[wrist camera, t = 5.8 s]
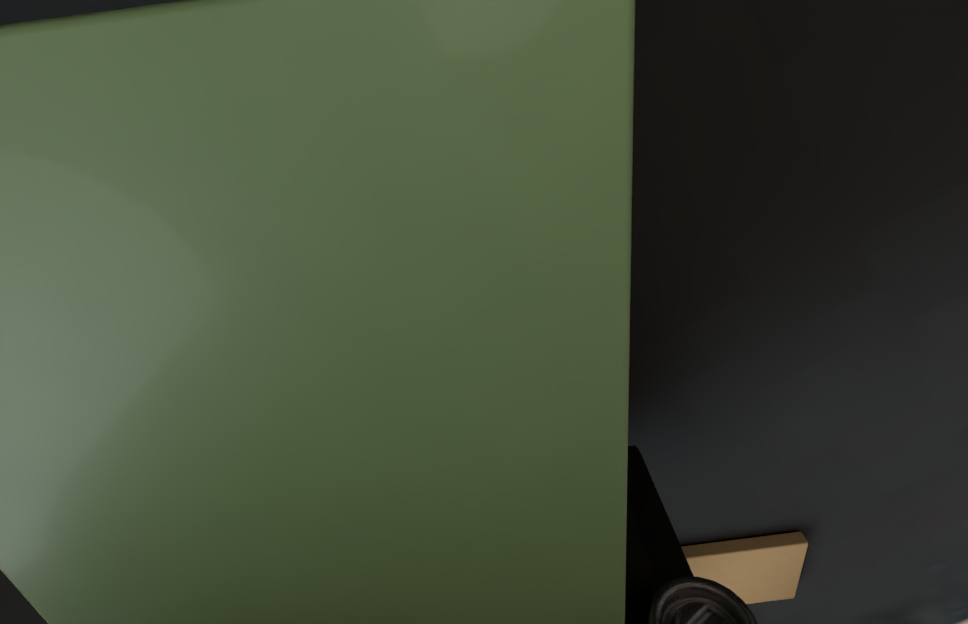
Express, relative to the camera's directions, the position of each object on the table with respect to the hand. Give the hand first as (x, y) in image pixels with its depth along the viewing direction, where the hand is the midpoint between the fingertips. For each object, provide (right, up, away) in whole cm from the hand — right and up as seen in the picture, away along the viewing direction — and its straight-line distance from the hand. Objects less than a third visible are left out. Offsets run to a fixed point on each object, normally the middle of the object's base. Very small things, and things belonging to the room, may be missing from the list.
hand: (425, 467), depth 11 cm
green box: (0, +3, -1) cm, 3 cm away
